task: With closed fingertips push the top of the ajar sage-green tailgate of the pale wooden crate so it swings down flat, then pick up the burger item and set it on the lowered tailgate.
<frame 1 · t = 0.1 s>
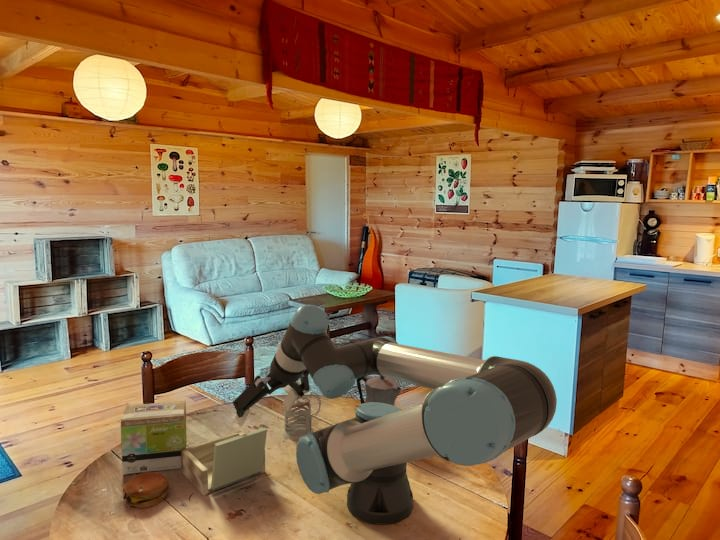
hand: (263, 414, 129), 15 cm above the table, tool tilted 35°, fingers open, 13 cm apart
crate: (223, 471, 130), on the table
tailgate: (238, 459, 123), point 7 cm above the table, hinge at 78.0°
french press: (300, 432, 153), on the table
tea box: (156, 463, 134), on the table
burger: (147, 498, 119), on the table
moka pot: (376, 439, 149), on the table
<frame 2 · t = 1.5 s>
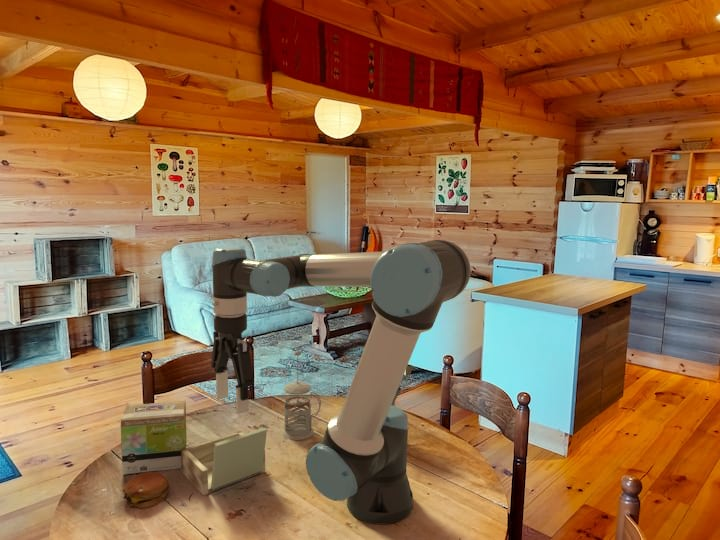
hand: (232, 404, 123), 20 cm above the table, tool pointing down, fingers open, 10 cm apart
nothing on the table moved.
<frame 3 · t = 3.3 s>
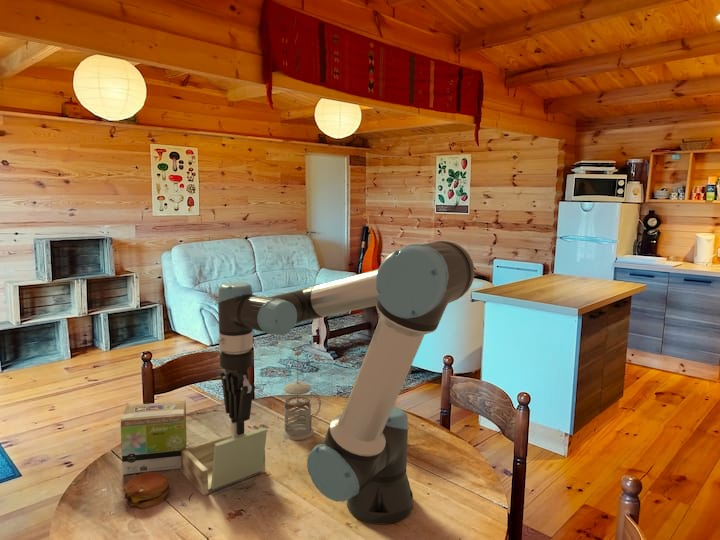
hand: (238, 445, 123), 11 cm above the table, tool pointing down, fingers closed
tailgate: (238, 459, 123), point 7 cm above the table, hinge at 78.0°, touching gripper
everything else where it was.
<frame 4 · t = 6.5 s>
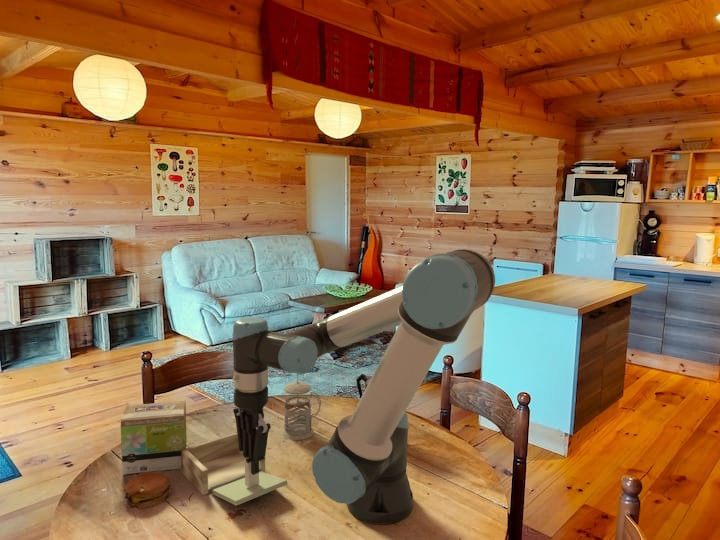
hand: (252, 484, 119), 4 cm above the table, tool pointing down, fingers closed
tailgate: (248, 485, 120), point 2 cm above the table, hinge at 14.4°, touching gripper
everything else where it was.
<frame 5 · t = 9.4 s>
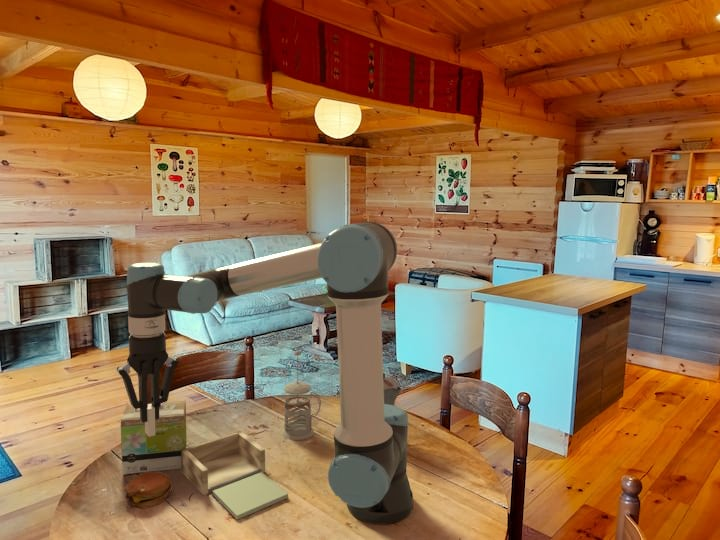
hand: (150, 433, 117), 15 cm above the table, tool pointing down, fingers closed
tailgate: (248, 492, 120), point 1 cm above the table, hinge at -0.1°
everything else where it was.
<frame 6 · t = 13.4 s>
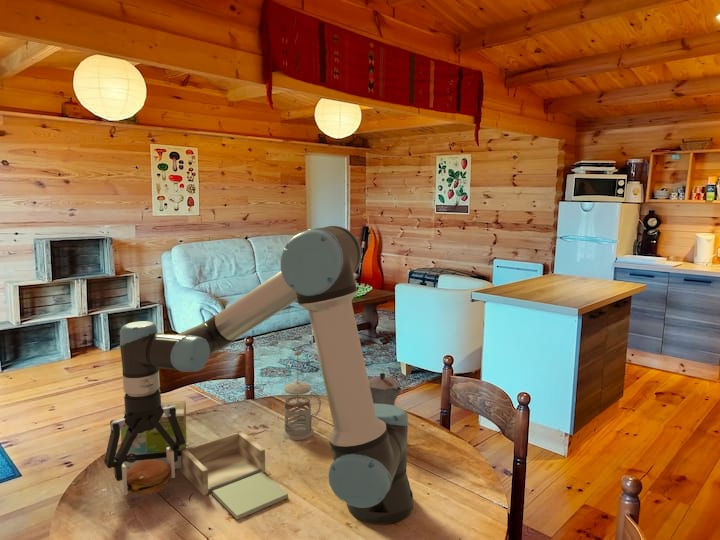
hand: (148, 483, 118), 3 cm above the table, tool pointing down, fingers closed on burger, 10 cm apart
burger: (149, 485, 118), point 3 cm above the table, touching gripper
everything else where it was.
when the fingers open (3 cm above the table, at t = 18.6 s): burger drops 1 cm, resting on tailgate.
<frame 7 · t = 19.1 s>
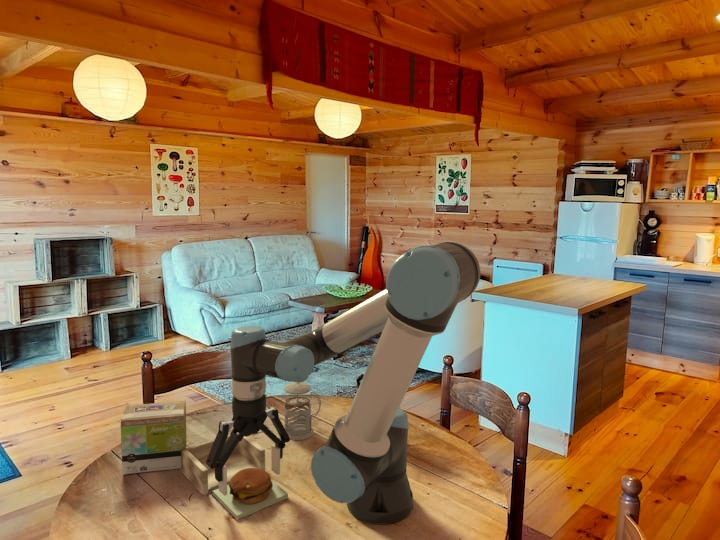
hand: (250, 482, 119), 4 cm above the table, tool pointing down, fingers open, 13 cm apart
tailgate: (248, 492, 120), point 1 cm above the table, hinge at -0.1°, touching burger
burger: (251, 494, 119), point 1 cm above the table, touching tailgate
everything else where it was.
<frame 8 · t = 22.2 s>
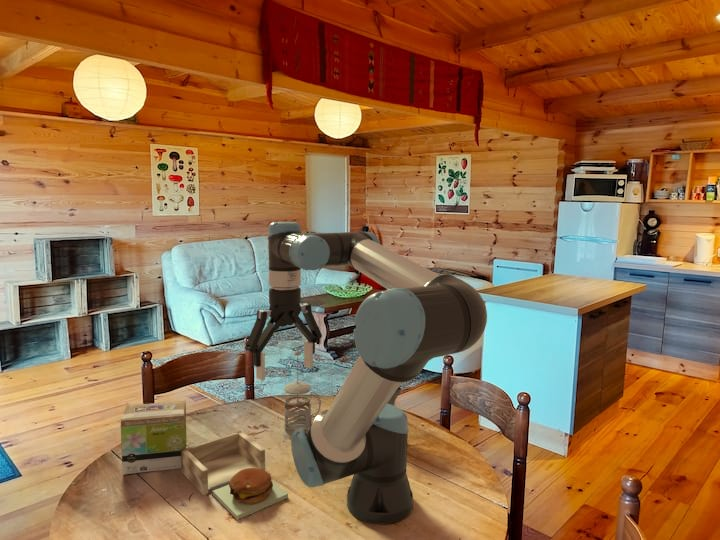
hand: (285, 372, 125), 27 cm above the table, tool pointing down, fingers open, 13 cm apart
nothing on the table moved.
at the end: tailgate at +0° (first picture: +78°); burger inside the target area (1.0 cm from its centre), point 0.9 cm above the table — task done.
